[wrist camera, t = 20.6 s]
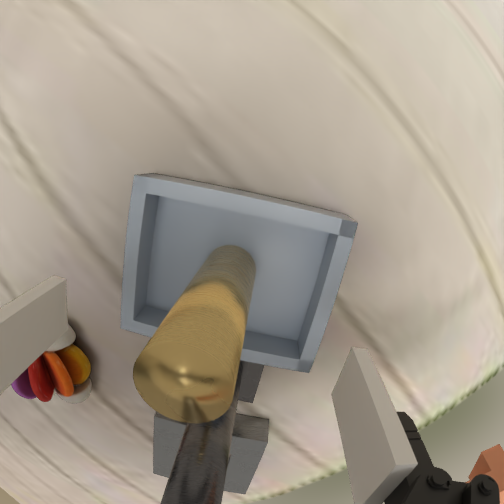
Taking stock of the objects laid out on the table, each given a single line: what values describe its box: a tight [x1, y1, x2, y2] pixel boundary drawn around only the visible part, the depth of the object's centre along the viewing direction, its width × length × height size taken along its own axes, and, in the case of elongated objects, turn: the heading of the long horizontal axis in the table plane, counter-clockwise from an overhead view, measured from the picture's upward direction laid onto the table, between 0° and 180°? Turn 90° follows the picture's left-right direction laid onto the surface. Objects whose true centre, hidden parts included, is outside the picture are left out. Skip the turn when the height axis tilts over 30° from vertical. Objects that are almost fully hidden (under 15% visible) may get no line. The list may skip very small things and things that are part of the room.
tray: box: [121, 173, 358, 373], centre depth 22 cm, size 14×11×3 cm
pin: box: [133, 245, 256, 423], centre depth 16 cm, size 4×4×13 cm
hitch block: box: [153, 411, 269, 494], centre depth 27 cm, size 10×10×3 cm
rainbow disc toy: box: [11, 324, 92, 404], centre depth 24 cm, size 8×10×7 cm
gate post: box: [161, 360, 264, 504], centre depth 18 cm, size 6×6×16 cm
